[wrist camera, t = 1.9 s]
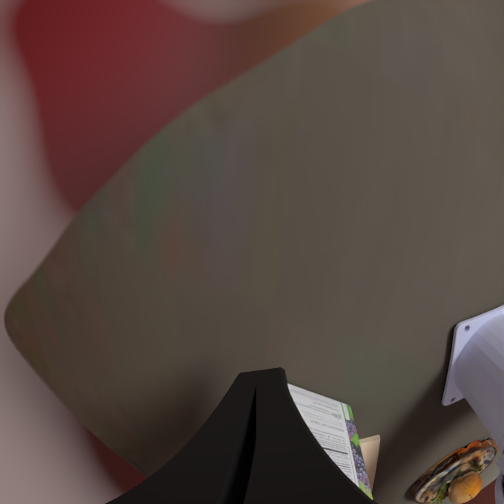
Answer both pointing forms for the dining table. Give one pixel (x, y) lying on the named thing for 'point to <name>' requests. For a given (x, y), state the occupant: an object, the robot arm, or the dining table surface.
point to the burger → (456, 475)
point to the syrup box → (334, 433)
